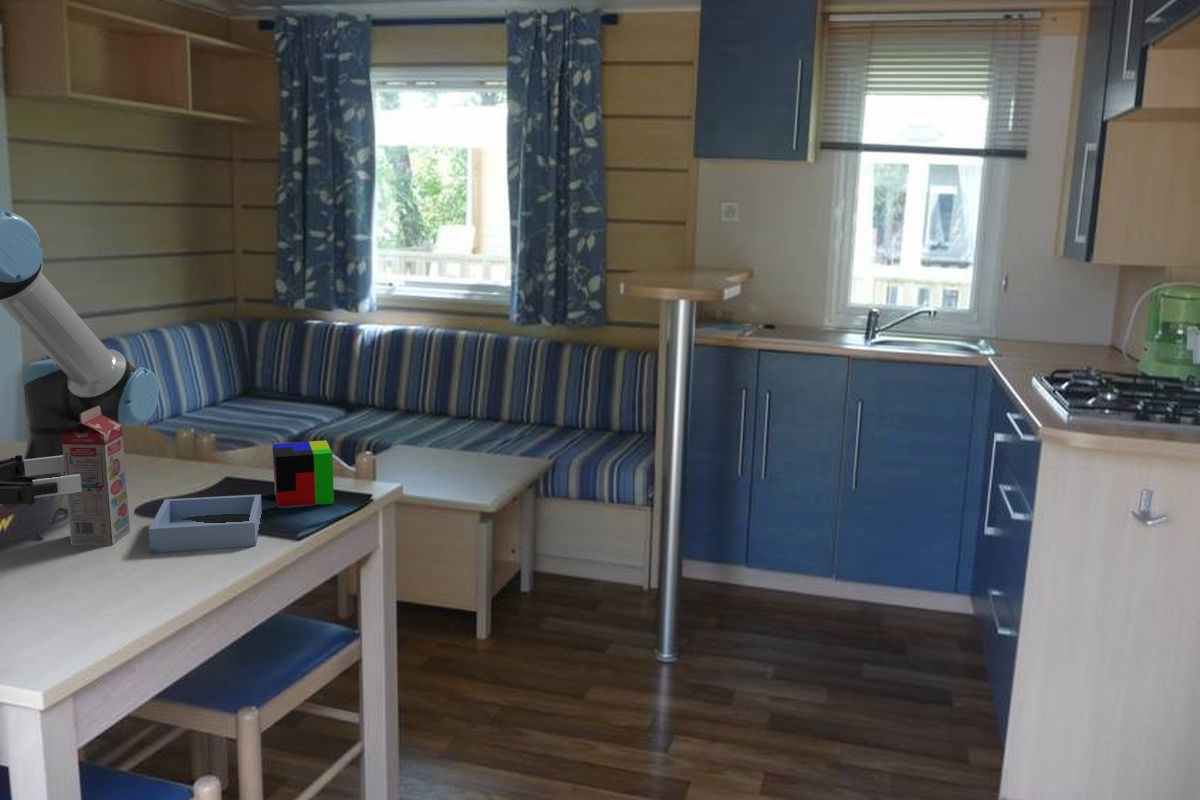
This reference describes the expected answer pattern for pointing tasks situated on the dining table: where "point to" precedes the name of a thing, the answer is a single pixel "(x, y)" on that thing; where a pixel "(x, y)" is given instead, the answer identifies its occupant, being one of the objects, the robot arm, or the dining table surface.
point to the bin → (205, 524)
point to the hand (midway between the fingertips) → (75, 472)
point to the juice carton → (96, 480)
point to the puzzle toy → (303, 473)
